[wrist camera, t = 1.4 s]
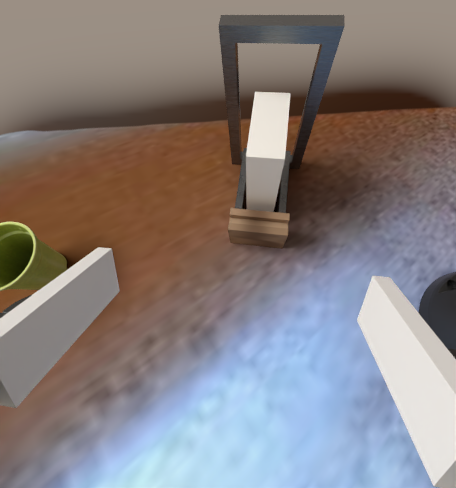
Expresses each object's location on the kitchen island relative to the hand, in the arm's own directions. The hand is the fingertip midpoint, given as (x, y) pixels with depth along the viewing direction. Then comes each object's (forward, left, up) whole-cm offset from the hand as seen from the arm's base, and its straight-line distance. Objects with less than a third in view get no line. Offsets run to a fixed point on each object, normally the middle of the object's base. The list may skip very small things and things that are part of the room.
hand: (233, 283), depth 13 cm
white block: (-1, -19, -24) cm, 31 cm away
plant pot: (+31, -2, -24) cm, 39 cm away
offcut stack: (-1, -12, -24) cm, 27 cm away
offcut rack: (-1, -21, -24) cm, 31 cm away
